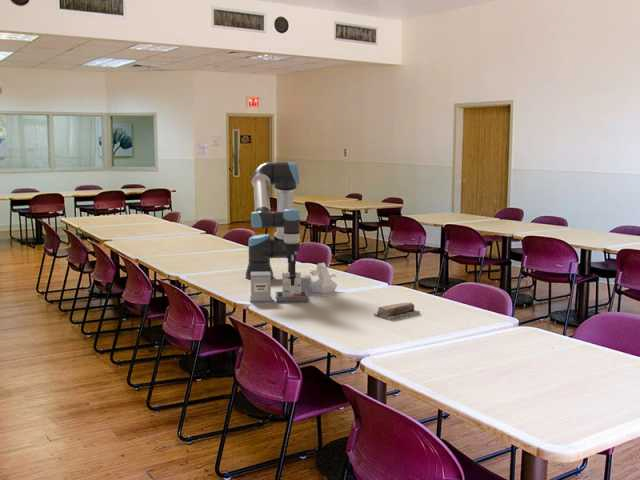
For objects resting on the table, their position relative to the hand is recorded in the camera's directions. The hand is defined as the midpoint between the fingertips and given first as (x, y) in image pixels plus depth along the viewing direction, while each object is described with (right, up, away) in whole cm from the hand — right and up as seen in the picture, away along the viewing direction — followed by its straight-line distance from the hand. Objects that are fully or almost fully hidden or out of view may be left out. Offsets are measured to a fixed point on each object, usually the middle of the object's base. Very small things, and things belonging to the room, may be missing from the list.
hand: (291, 290), depth 309 cm
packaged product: (+46, -9, -27) cm, 54 cm away
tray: (0, -4, +1) cm, 5 cm away
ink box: (0, -4, +2) cm, 4 cm away
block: (+6, -2, +16) cm, 17 cm away
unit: (-14, -5, -1) cm, 15 cm away
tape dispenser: (+16, -2, +19) cm, 25 cm away
